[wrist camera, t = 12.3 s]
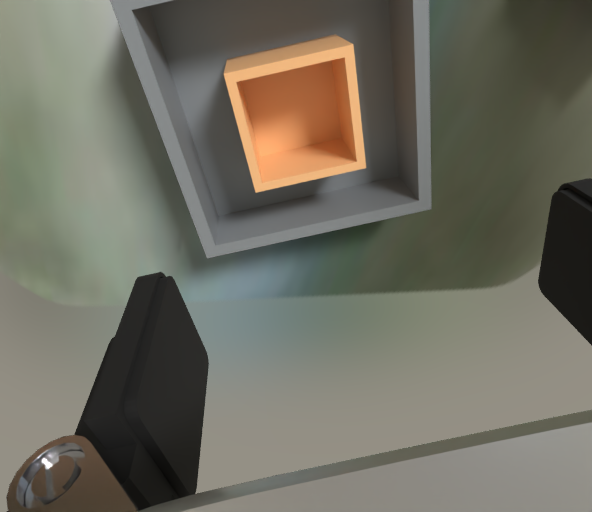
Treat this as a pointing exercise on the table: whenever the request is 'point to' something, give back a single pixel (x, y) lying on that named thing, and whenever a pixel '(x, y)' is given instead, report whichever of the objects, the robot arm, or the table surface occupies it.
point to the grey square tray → (224, 130)
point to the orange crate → (298, 111)
